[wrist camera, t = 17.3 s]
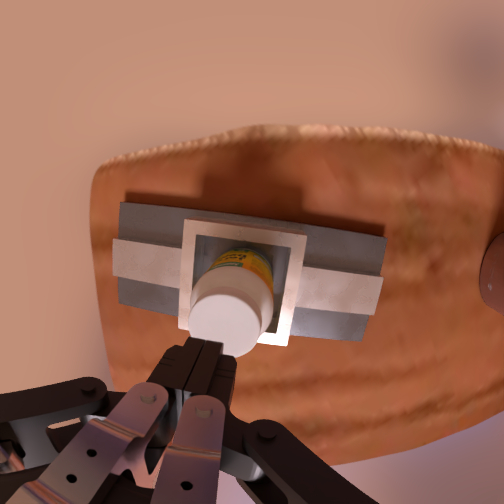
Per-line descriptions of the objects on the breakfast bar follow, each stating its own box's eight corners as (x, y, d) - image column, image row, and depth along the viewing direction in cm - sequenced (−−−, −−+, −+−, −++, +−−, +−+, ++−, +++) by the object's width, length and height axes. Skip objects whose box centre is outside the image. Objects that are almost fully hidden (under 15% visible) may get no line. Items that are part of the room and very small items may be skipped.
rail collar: (383, 236, 23) (401, 244, 19) (358, 336, 25) (369, 357, 21) (125, 201, 25) (102, 203, 21) (123, 299, 27) (103, 314, 23)
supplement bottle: (233, 316, 25) (210, 381, 15) (199, 266, 24) (156, 310, 15) (285, 287, 24) (291, 344, 15) (252, 234, 23) (237, 262, 14)
